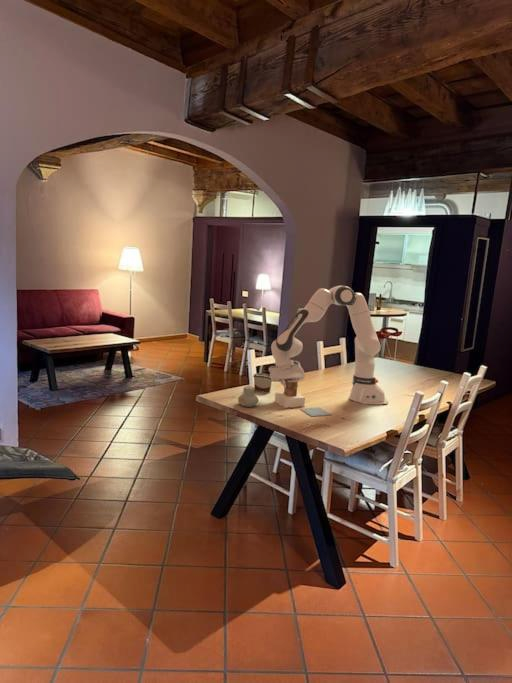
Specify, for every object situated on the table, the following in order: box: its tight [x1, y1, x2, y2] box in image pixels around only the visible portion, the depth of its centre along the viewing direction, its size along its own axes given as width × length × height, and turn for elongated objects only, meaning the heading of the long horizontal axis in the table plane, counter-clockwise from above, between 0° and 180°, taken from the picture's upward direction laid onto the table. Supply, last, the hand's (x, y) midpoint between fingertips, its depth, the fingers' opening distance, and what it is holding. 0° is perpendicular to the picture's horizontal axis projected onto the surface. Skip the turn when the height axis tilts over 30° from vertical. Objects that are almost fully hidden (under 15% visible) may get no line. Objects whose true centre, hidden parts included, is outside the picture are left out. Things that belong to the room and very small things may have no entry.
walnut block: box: [283, 380, 299, 397], centre depth 255 cm, size 5×5×8 cm
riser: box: [274, 391, 306, 409], centre depth 256 cm, size 12×12×5 cm
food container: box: [252, 372, 273, 394], centre depth 279 cm, size 12×6×10 cm, turn 71°
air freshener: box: [237, 385, 259, 408], centre depth 248 cm, size 11×8×10 cm
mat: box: [299, 406, 332, 418], centre depth 245 cm, size 12×12×1 cm
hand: (291, 387), depth 254 cm, fingers closed on walnut block, 5 cm apart
